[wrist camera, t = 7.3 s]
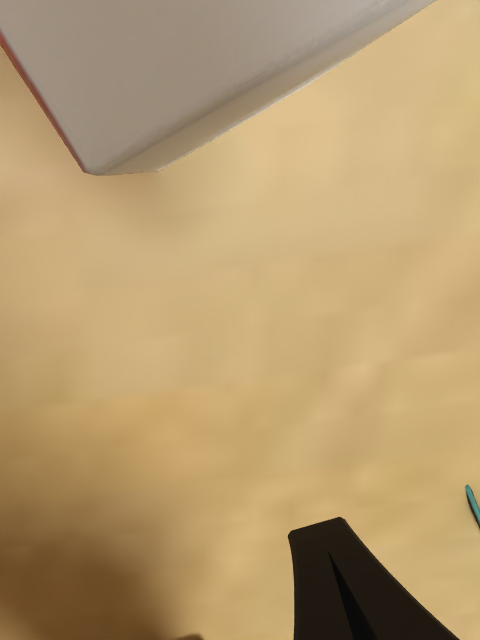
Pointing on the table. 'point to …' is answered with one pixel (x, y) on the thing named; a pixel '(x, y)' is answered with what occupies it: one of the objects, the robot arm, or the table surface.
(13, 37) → the small box
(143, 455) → the table surface
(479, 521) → the safety glasses
